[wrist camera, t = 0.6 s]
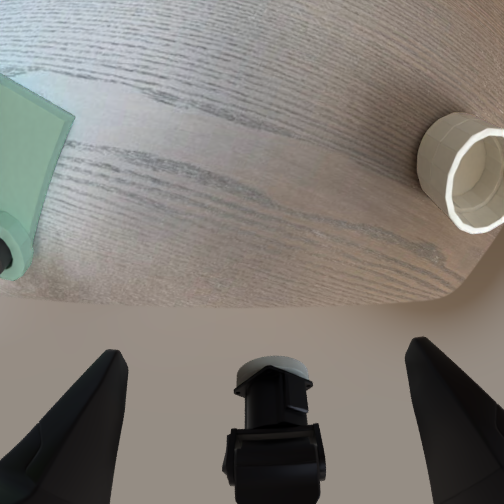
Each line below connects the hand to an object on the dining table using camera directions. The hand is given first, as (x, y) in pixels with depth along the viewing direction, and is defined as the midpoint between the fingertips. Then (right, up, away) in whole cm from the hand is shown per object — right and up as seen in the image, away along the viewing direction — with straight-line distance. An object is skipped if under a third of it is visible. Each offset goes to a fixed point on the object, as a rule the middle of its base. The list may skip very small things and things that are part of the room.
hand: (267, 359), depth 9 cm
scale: (-21, +10, +9) cm, 25 cm away
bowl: (+14, +10, +10) cm, 19 cm away
